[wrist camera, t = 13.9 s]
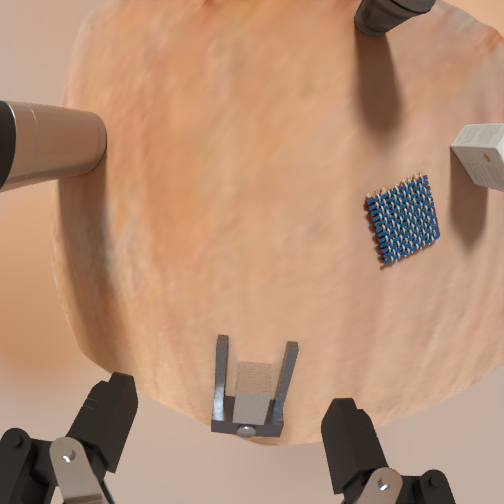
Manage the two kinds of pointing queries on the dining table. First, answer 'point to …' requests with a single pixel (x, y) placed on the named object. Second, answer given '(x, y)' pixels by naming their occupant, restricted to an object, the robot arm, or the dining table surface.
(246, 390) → the block
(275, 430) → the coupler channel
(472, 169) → the small box
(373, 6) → the beverage cup
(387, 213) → the woven mat
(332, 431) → the robot arm
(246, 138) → the dining table surface
